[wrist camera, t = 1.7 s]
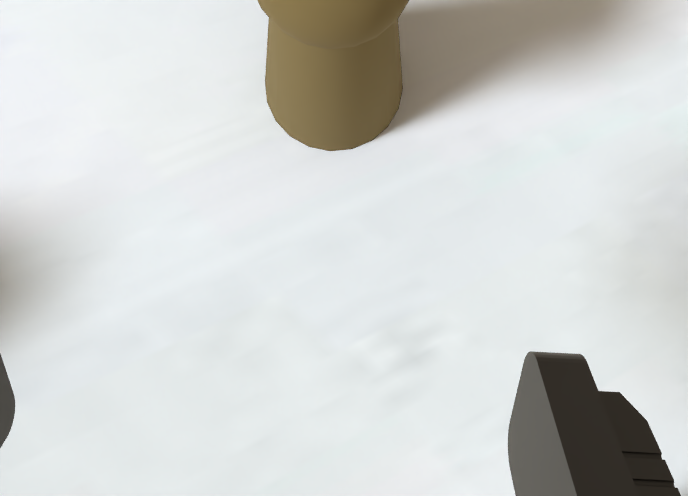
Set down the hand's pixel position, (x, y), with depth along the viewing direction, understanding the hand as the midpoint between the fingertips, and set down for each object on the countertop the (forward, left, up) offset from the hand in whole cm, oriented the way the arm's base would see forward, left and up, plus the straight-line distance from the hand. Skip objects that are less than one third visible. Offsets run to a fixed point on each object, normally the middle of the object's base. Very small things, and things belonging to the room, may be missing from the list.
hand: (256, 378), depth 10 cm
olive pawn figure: (-11, +6, -17) cm, 21 cm away
